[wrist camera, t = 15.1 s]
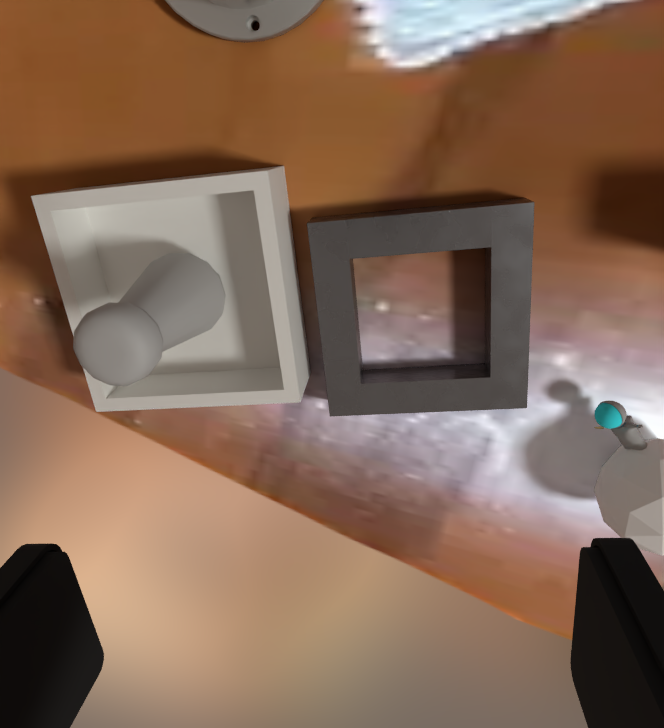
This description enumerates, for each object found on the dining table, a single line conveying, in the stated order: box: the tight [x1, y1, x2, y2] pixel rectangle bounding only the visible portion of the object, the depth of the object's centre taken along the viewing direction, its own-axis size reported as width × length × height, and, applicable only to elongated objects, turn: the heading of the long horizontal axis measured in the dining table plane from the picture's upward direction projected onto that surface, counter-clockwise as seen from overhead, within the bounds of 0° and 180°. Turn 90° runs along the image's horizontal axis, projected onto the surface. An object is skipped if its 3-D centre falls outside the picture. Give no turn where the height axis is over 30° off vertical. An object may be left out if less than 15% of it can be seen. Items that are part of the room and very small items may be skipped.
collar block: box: [307, 198, 534, 416], centre depth 38 cm, size 14×14×2 cm
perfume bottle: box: [594, 401, 664, 555], centre depth 38 cm, size 8×8×12 cm
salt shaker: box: [73, 253, 226, 386], centre depth 33 cm, size 6×6×13 cm
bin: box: [31, 166, 311, 412], centre depth 37 cm, size 15×15×5 cm
